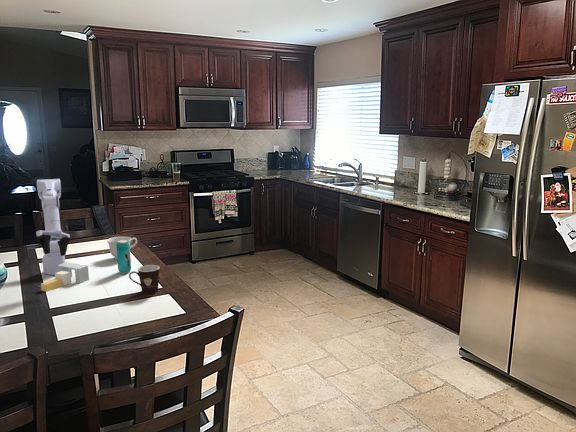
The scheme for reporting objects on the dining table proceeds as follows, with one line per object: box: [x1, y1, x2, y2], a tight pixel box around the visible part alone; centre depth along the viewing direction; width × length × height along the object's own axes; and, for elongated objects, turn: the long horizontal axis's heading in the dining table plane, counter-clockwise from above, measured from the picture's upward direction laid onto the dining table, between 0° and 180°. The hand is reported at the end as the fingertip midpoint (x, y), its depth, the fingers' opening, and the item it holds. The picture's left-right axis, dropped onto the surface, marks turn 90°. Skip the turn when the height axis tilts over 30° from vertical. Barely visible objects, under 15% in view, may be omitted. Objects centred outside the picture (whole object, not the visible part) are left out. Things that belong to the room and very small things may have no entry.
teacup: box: [106, 235, 138, 261], centre depth 240 cm, size 12×15×10 cm
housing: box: [58, 261, 90, 284], centre depth 208 cm, size 12×5×6 cm, turn 67°
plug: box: [40, 271, 72, 293], centre depth 199 cm, size 4×12×5 cm, turn 157°
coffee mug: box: [128, 264, 160, 295], centre depth 195 cm, size 12×9×10 cm
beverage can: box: [116, 240, 132, 275], centre depth 217 cm, size 6×6×15 cm
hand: (55, 254), depth 192 cm, fingers open, 7 cm apart
